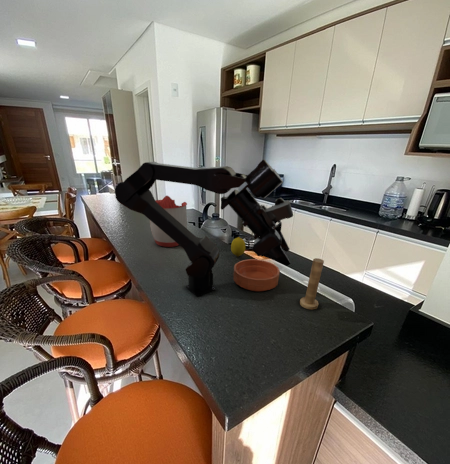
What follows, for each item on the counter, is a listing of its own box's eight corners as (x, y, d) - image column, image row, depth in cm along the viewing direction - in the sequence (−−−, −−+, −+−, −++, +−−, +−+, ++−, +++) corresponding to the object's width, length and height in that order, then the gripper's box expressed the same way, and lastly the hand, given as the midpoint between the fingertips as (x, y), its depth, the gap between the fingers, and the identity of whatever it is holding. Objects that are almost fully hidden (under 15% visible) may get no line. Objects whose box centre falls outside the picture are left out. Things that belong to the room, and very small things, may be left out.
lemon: (234, 260, 93) (236, 240, 90) (228, 255, 97) (228, 235, 94) (247, 258, 95) (249, 238, 92) (240, 253, 100) (241, 234, 96)
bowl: (255, 298, 70) (256, 284, 68) (224, 278, 80) (224, 266, 78) (287, 284, 78) (289, 271, 76) (255, 267, 88) (256, 256, 86)
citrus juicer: (197, 240, 111) (197, 194, 102) (170, 252, 98) (167, 201, 89) (172, 233, 118) (169, 190, 109) (143, 243, 105) (137, 195, 96)
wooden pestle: (311, 311, 66) (321, 266, 60) (296, 303, 69) (304, 259, 63) (321, 305, 68) (332, 261, 62) (306, 297, 72) (315, 255, 66)
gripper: (274, 195, 49) (321, 252, 52) (276, 183, 66) (311, 227, 69) (233, 229, 54) (278, 280, 57) (245, 210, 70) (279, 250, 73)
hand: (288, 257), depth 64 cm, fingers open, 9 cm apart
